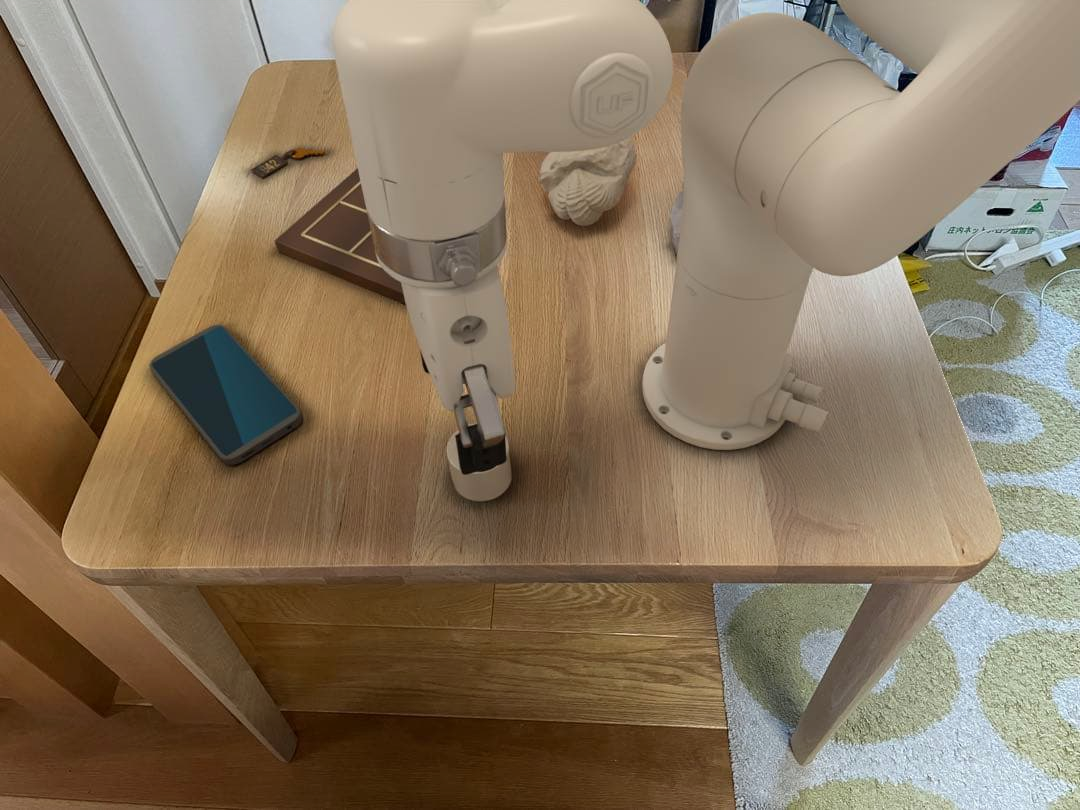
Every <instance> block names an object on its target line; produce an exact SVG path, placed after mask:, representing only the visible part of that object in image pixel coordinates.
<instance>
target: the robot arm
mask: <svg viewBox="0 0 1080 810" xmlns="http://www.w3.org/2000/svg"><path fill="white" fill-rule="evenodd" d="M836 1H837V4H838V5H839V7H840V9H841V10H842V12H843V13H844V14H845V16H846V17H847V18H848V19H849V20H850V21H851V22H852V23H853V24H854V26H855V27H857V28H858V29H859V30H860V31H861V32H862V33H863V34H865V36H867V37H868V38H869V39H870V40H872V41H873V42H874V43H875V44H877V45H878V46H879V47H880V48H882V49H883V50H885V51H886V52H887V53H889V54H890V55H891V56H892V57H894V58H895V59H897V60H898V61H899V62H900V63H902V64H904V65H905V66H906V67H907V68H909V69H911V71H913V72H914V73H916V74H917V76H916V77H915V78H914V79H913V80H912V81H911V82H910V83H909V84H908V85H907V86H906V87H905V88H904V89H903V90H902V91H899V90H898V89H897V88H895V87H894V86H893V85H892V84H890V82H888V81H887V80H885V79H884V78H883V77H881V76H880V75H879V74H877V73H876V72H875V71H874V70H873V69H872V68H871V67H870V66H869V65H868V64H867V63H865V62H864V61H863V60H861V59H860V58H859V57H857V56H856V55H855V54H853V52H851V51H850V50H848V49H847V48H845V47H844V46H843V45H841V44H840V43H839V42H838V41H836V40H835V39H834V38H832V37H831V36H830V35H829V34H827V33H826V32H824V31H823V30H821V29H820V28H818V27H816V26H815V25H813V24H812V23H809V22H807V21H806V20H803V19H801V18H798V17H796V16H792V15H789V14H786V13H780V12H758V13H753V14H748V15H747V16H743V17H740V18H738V19H736V20H734V21H731V22H730V23H728V24H727V25H726V26H724V27H723V28H721V29H720V30H719V31H717V32H716V33H715V34H714V35H713V36H712V37H710V39H709V40H708V41H707V43H706V44H705V45H704V46H703V48H702V49H701V50H700V52H699V53H698V55H697V56H696V57H695V60H694V62H693V64H692V66H691V68H690V70H689V73H688V75H687V78H686V81H685V85H684V89H683V92H682V100H681V107H680V146H681V158H682V173H683V182H684V200H683V213H682V222H681V231H680V239H679V246H678V254H677V253H676V255H677V256H676V263H675V270H674V277H673V286H672V294H671V299H670V300H671V301H670V309H669V317H668V325H667V331H666V339H665V342H664V343H662V344H661V345H660V346H658V347H657V348H656V350H654V352H653V353H652V354H651V355H650V357H649V358H648V360H647V362H646V364H645V367H644V370H643V373H642V380H641V381H642V382H641V390H642V398H643V400H644V403H645V406H646V409H647V410H648V412H649V413H650V415H651V417H652V418H653V419H654V420H655V422H656V423H657V424H658V425H659V426H660V427H661V428H662V429H663V430H665V431H666V432H668V433H669V434H670V435H672V436H673V437H675V438H676V439H679V440H680V441H683V442H685V443H687V444H689V445H693V446H696V447H699V448H704V449H708V450H709V449H710V450H714V451H715V450H717V451H718V450H719V451H720V450H723V451H731V450H739V449H740V450H741V449H745V448H749V447H752V446H755V445H758V444H760V443H761V442H764V441H766V440H767V439H769V438H770V437H771V436H773V435H774V434H775V433H777V432H778V430H780V428H781V427H782V426H783V424H784V423H785V422H786V421H787V422H788V421H789V422H791V423H794V424H796V425H797V426H798V427H800V428H802V429H805V430H808V431H810V432H813V433H816V434H818V435H820V433H821V431H822V429H823V427H824V425H825V422H826V420H827V418H828V415H829V411H827V410H825V409H822V408H820V407H817V406H815V405H812V404H810V403H804V402H801V401H798V400H796V399H794V395H795V396H797V397H800V398H801V399H804V400H807V401H809V402H812V403H814V404H817V403H818V400H819V399H820V397H821V393H822V392H823V387H822V386H818V385H816V384H813V383H810V382H806V381H804V380H800V379H798V378H796V374H795V373H793V372H790V371H791V367H792V365H793V361H794V358H795V357H794V355H793V354H790V353H788V350H789V348H790V343H791V340H792V337H793V334H794V331H795V328H796V324H797V321H798V317H799V315H800V311H801V307H802V304H803V301H804V298H805V295H806V292H807V288H808V285H809V282H810V279H811V275H812V272H813V270H814V269H815V270H816V271H818V272H820V273H823V274H826V275H829V276H833V277H834V276H835V277H851V276H857V275H861V274H865V273H867V272H870V271H872V270H875V269H877V268H879V267H881V266H884V265H885V264H887V263H889V262H890V261H891V260H893V259H894V258H896V257H898V256H899V255H900V254H902V253H904V252H905V251H907V250H908V249H909V248H910V247H912V246H913V245H915V243H917V242H918V241H920V239H922V238H923V237H924V236H925V235H926V234H928V233H929V232H930V231H931V230H932V229H934V228H935V227H936V226H937V225H939V223H941V222H942V221H943V220H944V219H945V218H947V217H948V216H949V215H950V214H951V213H952V212H953V211H955V210H956V209H957V208H958V207H959V206H961V205H962V204H963V203H964V202H965V201H967V200H968V198H970V197H971V196H972V195H973V194H974V193H975V192H977V191H978V190H979V189H980V188H982V187H983V186H984V185H985V184H986V183H987V182H988V181H990V180H991V179H992V178H993V177H994V176H996V175H997V174H998V173H999V172H1000V171H1001V170H1002V169H1004V168H1005V167H1006V166H1007V165H1008V164H1009V163H1010V162H1011V161H1013V160H1014V159H1015V158H1016V157H1017V156H1019V155H1020V154H1021V153H1022V152H1023V151H1024V150H1026V149H1027V148H1028V147H1029V146H1030V145H1032V143H1033V142H1035V141H1036V140H1037V139H1038V138H1039V137H1040V136H1042V135H1043V134H1044V133H1046V131H1047V130H1049V129H1050V128H1051V127H1052V126H1053V125H1055V124H1056V123H1057V122H1058V121H1059V120H1060V119H1061V118H1062V117H1064V116H1065V115H1066V113H1068V112H1069V111H1070V110H1071V109H1073V107H1074V106H1075V105H1076V104H1077V103H1078V102H1080V0H836ZM333 24H334V25H333V29H332V49H333V55H334V61H335V67H336V71H337V76H338V80H339V86H340V90H341V95H342V99H343V104H344V109H345V110H344V111H345V114H346V118H347V123H348V129H349V133H350V138H351V143H352V147H353V153H354V157H355V161H356V166H357V168H358V172H359V176H360V181H361V186H362V190H363V194H364V200H365V204H366V210H367V214H368V219H369V224H370V229H371V234H372V238H373V243H374V247H375V252H376V257H377V260H378V262H379V264H380V266H381V267H382V268H383V270H384V271H385V272H386V273H388V274H389V275H390V276H391V277H393V278H394V279H396V280H398V281H400V282H401V285H402V289H403V294H404V298H405V303H406V304H405V307H406V310H407V314H408V317H409V320H410V324H411V327H412V330H413V333H414V336H415V339H416V342H417V345H418V348H419V354H420V359H421V364H422V368H423V372H425V373H426V374H429V376H430V378H431V381H432V384H433V385H434V388H435V390H436V393H437V395H438V399H439V400H440V403H441V405H442V407H443V408H444V409H446V410H448V411H450V412H452V413H453V415H454V418H455V422H456V426H457V430H459V433H458V434H457V435H455V438H456V445H457V452H458V459H459V466H460V469H461V472H462V474H463V475H468V474H471V473H474V472H485V471H488V470H491V469H493V468H495V467H496V466H498V465H501V464H503V463H505V462H506V460H507V457H506V442H505V436H506V429H505V425H504V422H503V417H502V414H501V410H500V406H499V402H498V398H499V400H502V399H503V400H504V399H507V398H510V397H512V396H513V395H514V393H515V392H516V387H517V384H516V382H517V381H516V373H515V365H514V354H513V347H512V345H513V344H512V338H511V332H510V331H511V330H510V323H509V322H510V321H509V315H508V310H507V303H506V297H505V292H504V287H503V283H502V279H501V275H500V271H499V267H498V265H499V264H500V263H501V261H502V260H503V258H504V256H505V254H506V250H507V246H508V234H507V217H506V216H507V215H506V198H505V197H506V195H505V173H504V155H503V154H517V153H550V152H570V151H584V150H591V149H598V148H603V147H606V146H609V145H613V144H615V143H618V142H621V141H623V140H625V139H628V138H630V137H631V136H632V137H633V136H635V135H636V134H638V133H639V132H640V131H642V130H643V129H645V128H646V127H647V126H648V125H649V124H650V123H651V122H652V121H653V120H654V119H655V118H656V116H657V115H658V114H659V112H660V110H662V108H663V106H664V105H665V103H666V101H667V99H668V96H669V93H670V90H671V88H672V83H673V79H674V60H673V59H674V58H673V54H672V53H673V52H672V50H671V46H670V43H669V40H668V37H667V35H666V33H665V31H664V29H663V28H662V26H661V24H660V22H658V20H657V19H656V17H655V16H654V15H653V13H652V12H651V11H650V10H649V9H648V7H647V6H646V5H645V4H644V3H643V2H642V1H641V0H347V1H346V2H345V3H344V4H343V5H342V7H341V8H340V9H339V11H338V13H337V15H336V17H335V20H334V23H333ZM464 385H465V388H466V391H467V394H464ZM497 397H498V398H497ZM470 407H471V408H472V410H473V414H474V417H475V420H476V423H477V424H474V423H473V424H474V425H471V426H468V425H469V424H468V420H467V416H466V413H465V409H466V408H470Z"/></svg>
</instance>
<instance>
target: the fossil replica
mask: <svg viewBox="0 0 1080 810" xmlns="http://www.w3.org/2000/svg"><path fill="white" fill-rule="evenodd" d="M637 156H638V152H637V150H636V149H635V144H634V141H633V136H631V137H630V138H628V139H625V140H623V141H621V142H618V143H615V144H613V145H609V146H606V147H603V148H598V149H591V150H584V151H570V152H548V154H547V155H546V156H545V157H544V159H543V161H542V162H541V163H540V169H539V170H540V171H539V179H538V182H539V183H540V185H542V188H543V189H544V191H546V192H547V193H548V195H547V199H548V201H549V203H550V205H551V206H552V209H553V210H554V213H555V214H556V215H557V217H558V218H559V219H562V220H564V221H570V220H571V221H572V222H573V223H574V224H576V225H578V226H586V227H587V226H588V227H589V226H591V225H592V224H594V223H597V222H599V220H600V218H601V217H603V214H604V212H607V211H609V210H611V209H612V208H613V207H615V206H616V205H617V204H618V203H619V201H620V200H621V199H622V195H623V194H624V189H625V187H626V183H627V181H628V180H629V179H630V177H631V174H632V172H633V171H634V169H635V167H636V161H637V158H638V157H637Z"/></svg>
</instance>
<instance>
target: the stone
mask: <svg viewBox="0 0 1080 810" xmlns="http://www.w3.org/2000/svg"><path fill="white" fill-rule="evenodd" d="M474 424H477V422H475V423H470V424H468V426H471V425H474ZM458 433H459V430H458V429H457V430H456V431H454V433H453V434H451V436H450V438H449V440H448V442H447V445H446V458H447V463H448V466H449V471H450V477H451V480H452V484H453V487H454V489H455V490H456V492H457V493H458V494H459V495H460V496H462V497H463V498H465V499H467V500H469V501H473V502H488V501H491V500H494V499H496V498H498V497H500V496H501V495H503V494H504V493H505V492H506V491H507V489H508V488H509V486H510V484H511V482H512V477H513V471H512V462H511V461H512V460H511V451H510V444H509V440H508V437H507V435H505V442H506V457H507V460H506V462H505V463H503V464H501V465H498V466H496V467H495V468H493V469H491V470H488V471H485V472H474V473H471V474H468V475H463V474H462V472H461V469H460V466H459V459H458V452H457V445H456V438H455V435H457V434H458Z"/></svg>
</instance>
